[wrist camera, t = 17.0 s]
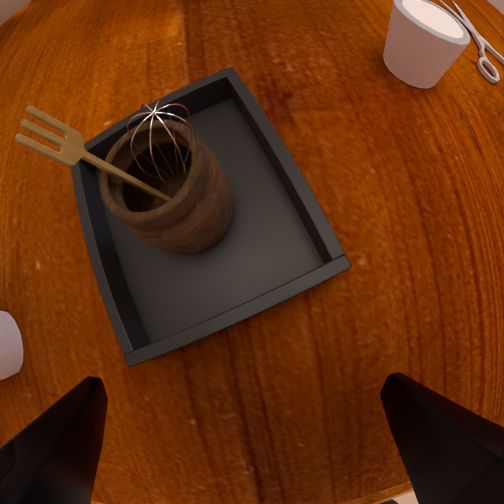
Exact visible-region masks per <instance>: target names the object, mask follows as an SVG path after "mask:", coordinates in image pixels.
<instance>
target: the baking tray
mask: <svg viewBox="0 0 504 504" xmlns="http://www.w3.org/2000/svg"><path fill="white" fill-rule="evenodd" d="M162 98H164V99H165V100H166V101H167V104H168V105H169V104H181V105H183V106H185V107H186V108H187V110H188V112H189V116H190V120H191V125H192V127H193V129H194V132H195V135H196V136H197V137H198V138H199V139H200V140H201V142H202V143H203V144H204V145H205V146H206V147H207V148H208V149H209V150H210V151H211V152H212V153H213V154H214V155H215V157H216V158H217V160H218V161H219V163H220V165H221V167H222V169H223V171H224V173H225V176H226V178H227V180H228V183H229V185H230V188H231V191H232V194H233V200H234V213H233V218H232V221H231V224H230V226H229V228H228V230H227V232H226V233H225V235H224V236H223V237H222V239H221V240H220V241H219V242H218V243H216V244H215V245H214V246H212V247H211V248H209V249H208V250H205V251H203V252H200V253H197V254H192V255H180V254H174V253H171V252H168V251H165V250H162V249H160V248H158V247H156V246H153V245H151V244H149V243H147V242H145V241H143V240H141V239H140V238H138V237H137V236H135V235H134V234H133V233H132V232H131V231H130V230H129V229H128V228H127V227H126V226H125V224H124V223H122V222H121V221H119V220H118V219H117V218H116V217H115V216H114V215H113V214H112V213H111V212H110V210H109V209H108V208H107V206H106V205H105V203H104V201H103V198H102V195H101V190H100V175H101V170H102V169H100V168H98V167H97V166H95V165H93V164H91V163H89V162H87V161H85V160H83V159H80V160H79V161H78V162H77V163H76V164H75V165H74V166H72V167H71V172H72V178H73V184H74V190H75V196H76V201H77V206H78V211H79V216H80V220H81V225H82V229H83V233H84V237H85V241H86V245H87V249H88V253H89V256H90V260H91V264H92V267H93V270H94V274H95V277H96V280H97V284H98V287H99V290H100V293H101V296H102V299H103V302H104V305H105V308H106V310H107V313H108V316H109V319H110V321H111V324H112V327H113V329H114V332H115V334H116V337H117V339H118V342H119V344H120V347H121V349H122V352H123V354H125V355H124V356H125V359H126V361H127V363H128V365H129V367H132V366H134V365H137V364H140V363H142V362H145V361H148V360H150V359H153V358H155V357H158V356H160V355H163V354H165V353H168V352H170V351H173V350H175V349H178V348H180V347H183V346H185V345H188V344H190V343H192V342H195V341H197V340H200V339H202V338H204V337H207V336H209V335H211V334H214V333H216V332H218V331H221V330H223V329H225V328H227V327H230V326H232V325H234V324H236V323H239V322H241V321H243V320H245V319H248V318H250V317H252V316H254V315H256V314H259V313H261V312H263V311H265V310H267V309H269V308H271V307H274V306H276V305H278V304H280V303H282V302H284V301H286V300H288V299H290V298H292V297H294V296H296V295H299V294H301V293H303V292H305V291H307V290H309V289H311V288H313V287H315V286H317V285H319V284H321V283H323V282H325V281H327V280H329V279H330V278H332V277H334V276H336V275H338V274H340V273H342V272H344V271H346V270H348V269H350V268H351V265H350V262H349V260H348V258H347V256H346V255H345V252H344V250H343V248H342V246H341V244H340V242H339V240H338V239H337V237H336V235H335V233H334V231H333V229H332V227H331V225H330V223H329V221H328V219H327V218H326V216H325V214H324V212H323V210H322V208H321V207H320V205H319V203H318V201H317V199H316V197H315V196H314V194H313V192H312V190H311V189H310V187H309V185H308V183H307V182H306V180H305V178H304V176H303V175H302V173H301V171H300V170H299V168H298V166H297V164H296V163H295V161H294V159H293V158H292V156H291V154H290V153H289V151H288V150H287V148H286V146H285V145H284V143H283V141H282V140H281V138H280V137H279V135H278V133H277V132H276V130H275V129H274V127H273V126H272V124H271V122H270V121H269V119H268V118H267V116H266V115H265V113H264V112H263V110H262V109H261V107H260V106H259V104H258V103H257V101H256V100H255V98H254V97H253V95H252V94H251V92H250V91H249V89H248V88H247V87H246V85H245V84H244V82H243V81H242V79H241V78H240V77H239V75H238V74H237V72H236V71H235V69H234V68H233V67H230V68H227V69H224V70H222V71H219V72H217V73H214V74H212V75H210V76H207V77H205V78H203V79H200V80H198V81H196V82H194V83H191V84H189V85H187V86H185V87H183V88H181V89H178V90H176V91H174V92H172V93H170V94H168V95H166V96H164V97H162ZM158 100H159V99H158ZM158 100H157V101H155V102H153V103H151V104H149V105H147V106H149V107H150V108H151V109H152V110H153V111H154V108H155V106H156V104H157V102H158ZM163 106H166V103H165V101H164V100H163V99H161V100H160V101H159V103H158V105H157V107H156V110H158V109H159V108H161V107H163ZM168 107H169V111H170V114H173V115H176V116H178V117H180V118H182V119H184V120H185V121H187V122H188V123H189V124H190V121H189V117H188V113H187V111H186V109H185V108H184V107H182V106H180V105H171V106H168ZM156 110H155V111H156ZM143 111H144V113H146V112H152V111H151V110H150V109H149V108H148V107H146V106H145V107H144V108H143ZM157 112H164V113H169V112H168V108H167V107H164V108H162V109H160V110H159V111H157ZM141 113H143V112H142V109H140V110H138V111H136V112H135V113H133V114H131V115H129V116H128V117H126V118H124V119H123V120H121V121H119V122H118V123H116V124H114V125H113V126H111V127H110V128H108V129H107V130H105V131H103V132H102V133H100V134H99V135H97V136H96V137H94V138H93V139H91V140H90V141H88V142H87V143H85V144H84V147H85V150H86V151H87V152H89V153H90V154H92V155H94V156H96V157H98V158H100V159H101V160H103V161H105V159H106V157H107V155H108V153H109V151H110V150H111V148H112V147H113V146H114V144H115V143H116V142H117V141H118V140H119V139H120V138H121V137H122V136H123V135H124V134H126V133H127V132H128V129H127V125H128V123H129V121H130V119H131V118H133V117H134V116H136V115H138V114H141ZM150 114H152V113H150ZM150 114H145V117H146V118H147V117H148V116H149V115H150ZM156 114H157V115H158V117H159V118H160V119H161V120H171V119H170V115H167V114H160V113H156ZM171 118H172V121H176V122H179V123H181V124H183V125H185V126H186V127H188V128H189V129H190V130H191V127H190V126H189V125H188V124H187V123H186V122H184V121H183V120H181V119H179V118H177V117H174V116H171ZM144 119H145V118H144V115H139V116H137V117H135V118H133V119H132V120H131V122H130V123H129V131H130V130H131V129H133V128H135V127H136V126H138V125H140V124H141V122H142V121H143V120H144ZM146 120H147V122H149V121H151V120H152V115H151V116H150V117H149V118H148V119H146ZM154 120H159V119H158V118H157V117H156V115H155V114H154V118H153V121H154ZM143 123H146V121H144V122H143ZM143 123H142V124H143ZM192 132H193V130H192Z"/></svg>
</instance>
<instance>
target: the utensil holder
mask: <svg viewBox="0 0 504 504" xmlns="http://www.w3.org/2000/svg"><path fill="white" fill-rule="evenodd" d="M161 99H163V100H164V101H165V103H166V106H163V107H161V108H159V109H158V110H156V107H157V105H158V103H159V101H160V100H161ZM143 105H145V106H146V107H148V108H149V109H150V110H151V111H152V112H146V113H144V111H143ZM171 105H180V106H182V107H184V108H185V109H186V111H187V113H188V117H189V121H190V124H189V123H188V122H187V121H185V120H184V119H182V118H180V117H178V116H176V115H173V114H170V111H169V107H168V106H171ZM164 107H167V108H168V112H169V113H164V112H157V111H159V110H160V109H162V108H164ZM141 109H142V112H143V113H141V114H138V115H136V116H134V117H133V118H135V117H137V116H139V115H144V118H145V119H144V120H143V121H142V122H141V124H140V125H138V126H136V127H135V128H133V129H131V130H130V131H129V123H130V122H131V120H132V119H133V118H131V119H130V121H129V123H128V125H127V129H128V132H127V133H126V134H124V135H123V136H122V137H121V138H120V139H119V140H118V141H117V142H116V143H115V144H114V146H113V147H112V148H111V150H110V151H109V153H108V155H107V157H106V159H105V161H103V160H101V159H100V158H98V157H96V156H94V155H92V154H90V153H89V152H87V151H86V150H85V147H84V140H83V136H82V134H81V133H80V132H78V131H76V130H74V129H73V128H71V127H69V126H67V125H66V124H64V123H62V122H60V121H58V120H57V119H55V118H53V117H51V116H49V115H48V114H46V113H44V112H42V111H40V110H39V109H37V108H35V107H33V106H28V108H27V113H29V114H30V115H32V116H34V117H36V118H37V119H39V120H41V121H42V122H44V123H46V124H48V125H49V126H51V127H53V128H54V129H56V130H58V131H60V132H61V133H63V134H64V139H63V138H61V137H59V136H57V135H55V134H53V133H51V132H49V131H47V130H45V129H43V128H42V127H40V126H38V125H36V124H34V123H32V122H30V121H28V120H26V119H24V120H22V121H21V127H23V128H25V129H27V130H29V131H30V132H32V133H34V134H36V135H38V136H40V137H42V138H43V139H45V140H47V141H49V142H51V143H53V144H55V145H56V146H58V147H59V148H60V152H57V151H55V150H53V149H51V148H49V147H46V146H44V145H42V144H40V143H38V142H36V141H34V140H32V139H30V138H28V137H26V136H24V135H21V134H17V135H16V136H15V141H16V142H18V143H20V144H22V145H24V146H26V147H28V148H30V149H32V150H34V151H36V152H38V153H40V154H42V155H44V156H46V157H48V158H50V159H52V160H54V161H56V162H58V163H60V164H62V165H64V166H67V167H72V166H74V165H75V164H76V163H77V162H78V161H79V160H80V159H83V160H85V161H87V162H89V163H91V164H93V165H95V166H97V167H98V168H100V169H102V170H101V175H100V190H101V195H102V198H103V201H104V203H105V205H106V206H107V208H108V209H109V210H110V212H111V213H112V214H113V215H114V216H115V217H116V218H117V219H118V220H119V221H121V222H122V223H124V224H125V226H126V227H127V228H128V229H129V230H130V231H131V232H132V233H133V234H134V235H135V236H137V237H138V238H140V239H141V240H143V241H145V242H147V243H149V244H151V245H153V246H156V247H158V248H160V249H162V250H165V251H168V252H171V253H174V254H180V255H192V254H197V253H200V252H203V251H205V250H208V249H209V248H211V247H212V246H214V245H215V244H216V243H218V242H219V241H220V240H221V239H222V237H223V236H224V235H225V233H226V232H227V230H228V228H229V226H230V224H231V221H232V218H233V213H234V200H233V194H232V191H231V188H230V185H229V183H228V180H227V178H226V176H225V173H224V171H223V169H222V167H221V165H220V163H219V161H218V160H217V158H216V157H215V155H214V154H213V153H212V152H211V151H210V150H209V149H208V148H207V147H206V146H205V145H204V144H203V143H202V142H201V140H200V139H199V138H198V137H197V136H196V135H195V132H194V129H193V127H192V125H191V120H190V116H189V112H188V110H187V108H186V107H185V106H183V105H181V104H169V105H168V104H167V101H166V100H165V99H164V98H160V99H159V100H158V102H157V104H156V106H155V108H154V111H153V110H152V109H151V108H150V107H149V106H147V105H146V104H142V106H141ZM155 110H156V111H155ZM150 113H152V114H150ZM156 113H160V114H167V115H170V119H171V120H161V119H160V118H159V117H158V115H157V114H156ZM145 114H150V115H149V116H148V117H147V118H146V117H145ZM154 114H155V115H156V117H157V118H158V119H159V120H154V121H153V118H154ZM151 115H152V120H151V121H149V122H147V120H146V119H148V118H149V117H150V116H151ZM171 116H174V117H177V118H179V119H181V120H183V121H184V122H186V123H187V124H188V125H189V126H190V127H191V130H190V129H189V128H188V127H186V126H185V125H183V124H181V123H179V122H176V121H172V118H171ZM144 121H146V123H143V122H144ZM142 123H143V124H142ZM192 130H193V132H192Z"/></svg>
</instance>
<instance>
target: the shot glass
mask: <svg viewBox="0 0 504 504" xmlns="http://www.w3.org/2000/svg"><path fill="white" fill-rule="evenodd" d="M469 42H470V36H469V34H468V32H467V30H466V28H465V27H464V26H463V25H462V24H461V23H460V22H459V20H458V19H457V18H455V17H454V16H453V15H452V14H450V13H449V12H448V11H446V10H445V9H443V8H442V7H440V6H438V5H436V4H435V3H433V2H431V1H428V0H393V7H392V12H391V18H390V23H389V29H388V34H387V39H386V44H385V48H384V53H383V59H384V63H385V65H386V66H387V68H388V69H389V71H390V72H392V73H393V74H394V75H395V76H396V77H397V78H398V79H400V80H402V81H403V82H405V83H407V84H408V85H411V86H414V87H417V88H426V89H429V88H431V87H433V86H434V85H435V84H436V83H437V82H438V81H439V79H440V78H441V77H442V76H443V75H444V73H445V72H446V71H447V70H448V69H449V67H450V66H451V65H452V64H453V62H454V61H455V60H456V59H457V58H458V56H459V55H460V54H461V53H462V51H463V50H464V49H465V48H466V47H467V45H468V44H469Z"/></svg>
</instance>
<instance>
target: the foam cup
mask: <svg viewBox="0 0 504 504" xmlns="http://www.w3.org/2000/svg"><path fill="white" fill-rule="evenodd" d="M22 364H23V344H22V339H21V333H20V331H19V329H18V326H17V324H16V322H15V320H14V319H13V318H12V316H11V315H10V314H9V313H8V312H4V311H0V380H2V379H5V378H7V377H9V376H11V375H14V374H16V373H18V372H19V371H20V369H21V366H22Z"/></svg>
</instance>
